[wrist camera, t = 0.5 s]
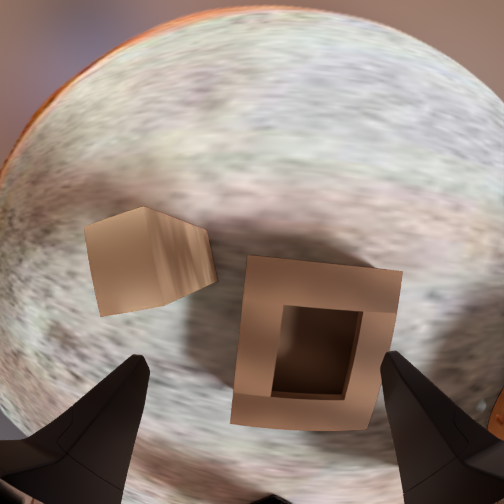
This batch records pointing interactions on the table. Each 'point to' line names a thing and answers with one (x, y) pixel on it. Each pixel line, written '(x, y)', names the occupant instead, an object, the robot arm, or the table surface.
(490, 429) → the flower pot
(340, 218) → the table surface
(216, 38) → the table surface
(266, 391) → the wooden block with hole
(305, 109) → the table surface
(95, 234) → the light wooden peg
